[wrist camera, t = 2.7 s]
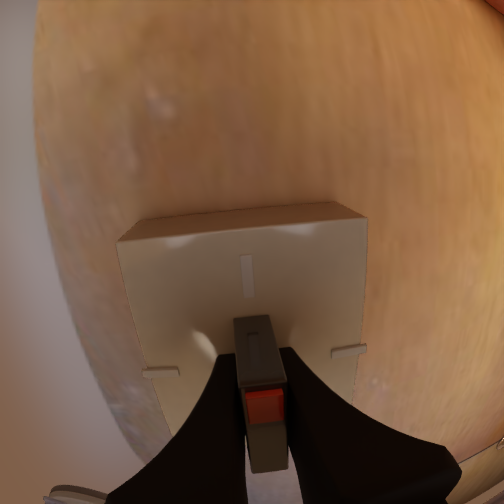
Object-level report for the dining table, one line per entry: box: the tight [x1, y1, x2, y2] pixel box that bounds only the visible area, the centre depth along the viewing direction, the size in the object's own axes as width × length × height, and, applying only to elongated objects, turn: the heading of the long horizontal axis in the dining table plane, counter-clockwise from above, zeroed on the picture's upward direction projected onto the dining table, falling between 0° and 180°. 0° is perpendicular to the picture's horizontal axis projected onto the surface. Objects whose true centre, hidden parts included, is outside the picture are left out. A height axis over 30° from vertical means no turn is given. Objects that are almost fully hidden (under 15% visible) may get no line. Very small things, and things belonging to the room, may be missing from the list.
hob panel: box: [116, 202, 368, 446], centre depth 12 cm, size 10×8×3 cm
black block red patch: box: [233, 314, 288, 474], centre depth 9 cm, size 4×1×4 cm, turn 5°
